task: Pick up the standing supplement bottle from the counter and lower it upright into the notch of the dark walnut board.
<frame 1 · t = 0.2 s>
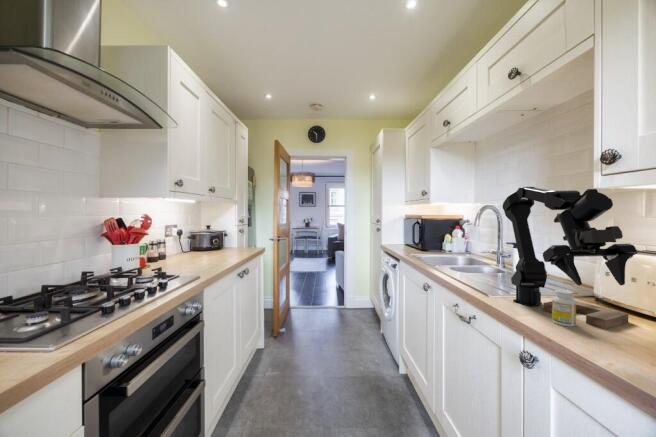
hand: (601, 284, 69), 15 cm above the worktop, tool tilted 30°, fingers open, 9 cm apart
supplement bottle: (563, 324, 82), on the worktop
notched board: (583, 315, 87), on the worktop
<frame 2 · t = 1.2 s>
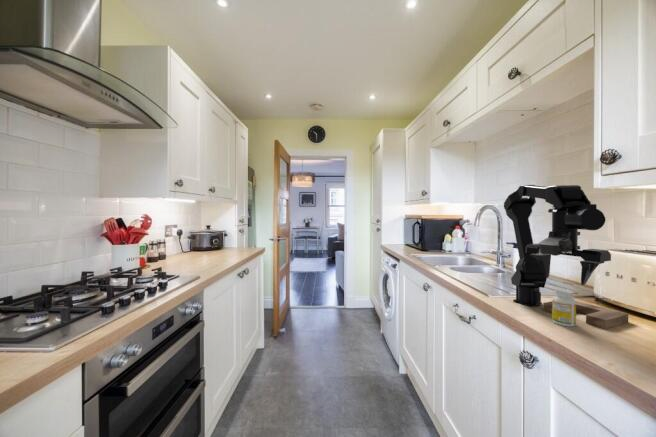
hand: (564, 281, 82), 13 cm above the worktop, tool pointing down, fingers open, 9 cm apart
nothing on the worktop moved.
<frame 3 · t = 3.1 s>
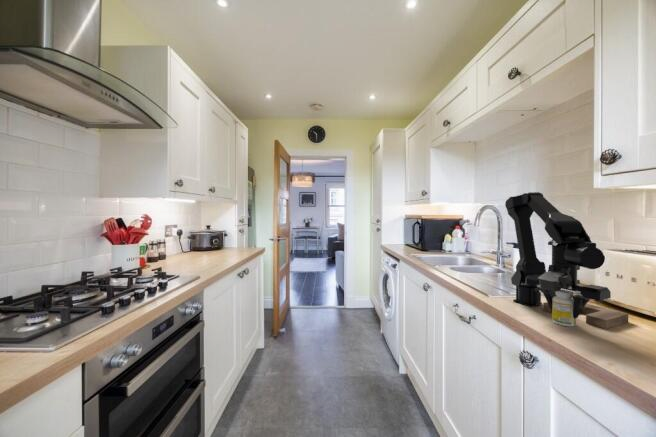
hand: (563, 314, 82), 3 cm above the worktop, tool pointing down, fingers closed on supplement bottle, 5 cm apart
supplement bottle: (563, 323, 82), on the worktop, touching gripper
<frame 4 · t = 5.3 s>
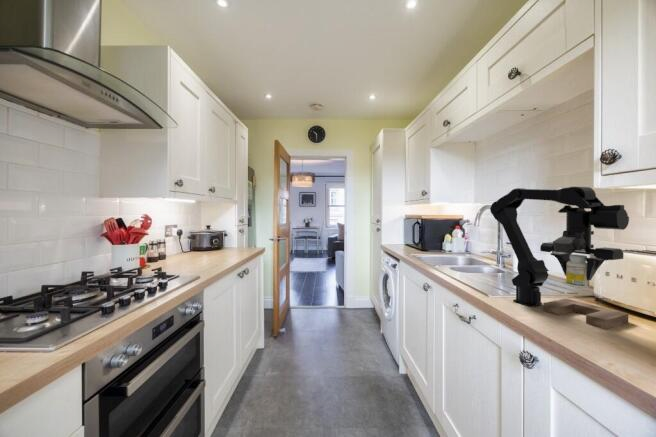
hand: (577, 278, 86), 12 cm above the worktop, tool pointing down, fingers closed on supplement bottle, 5 cm apart
supplement bottle: (577, 286, 86), point 10 cm above the worktop, touching gripper
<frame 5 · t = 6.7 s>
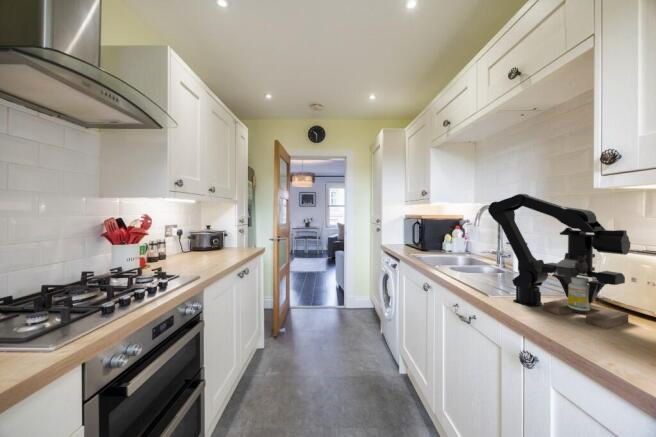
hand: (579, 300, 87), 5 cm above the worktop, tool pointing down, fingers closed on supplement bottle, 5 cm apart
supplement bottle: (579, 308, 87), point 3 cm above the worktop, touching gripper
when the fingers open (4 cm above the worktop, at t = 7.8 s): supplement bottle drops 1 cm, on the worktop.
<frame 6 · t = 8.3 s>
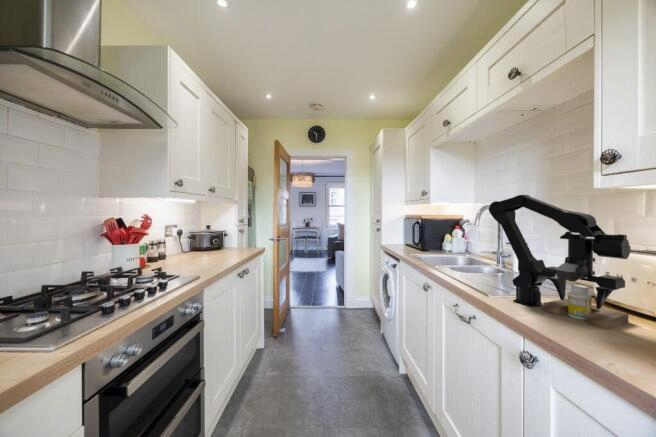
hand: (579, 304, 86), 4 cm above the worktop, tool pointing down, fingers open, 9 cm apart
supplement bottle: (579, 317, 87), on the worktop
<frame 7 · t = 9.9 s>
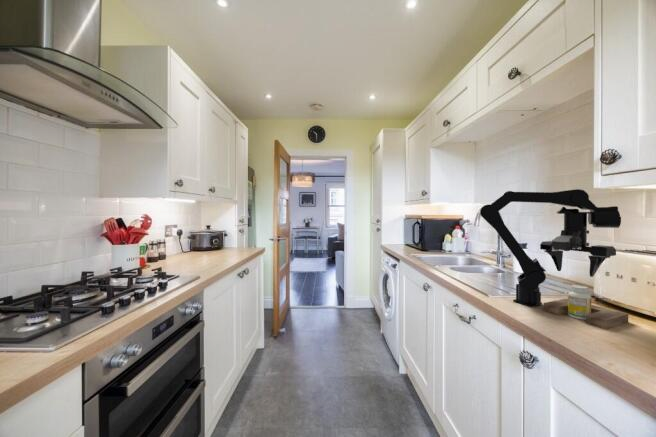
hand: (574, 273, 93), 12 cm above the worktop, tool pointing down, fingers open, 9 cm apart
nothing on the worktop moved.
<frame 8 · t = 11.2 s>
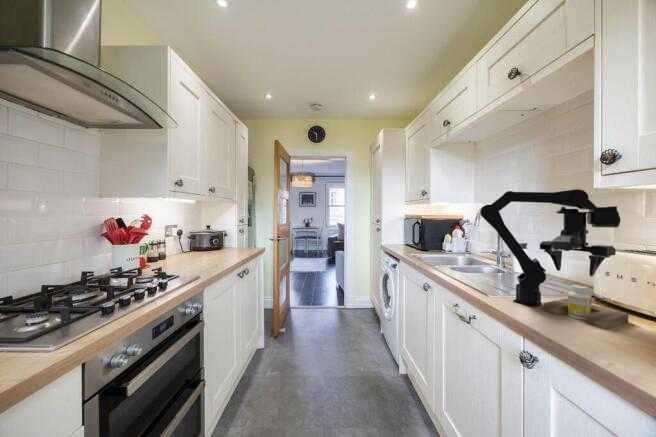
hand: (574, 273, 94), 12 cm above the worktop, tool pointing down, fingers open, 9 cm apart
nothing on the worktop moved.
at the end: supplement bottle 0.5 cm from the target spot on the notched board, point 0.0 cm above the notched board's base; supplement bottle tilted 0°; the gripper is holding nothing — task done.
